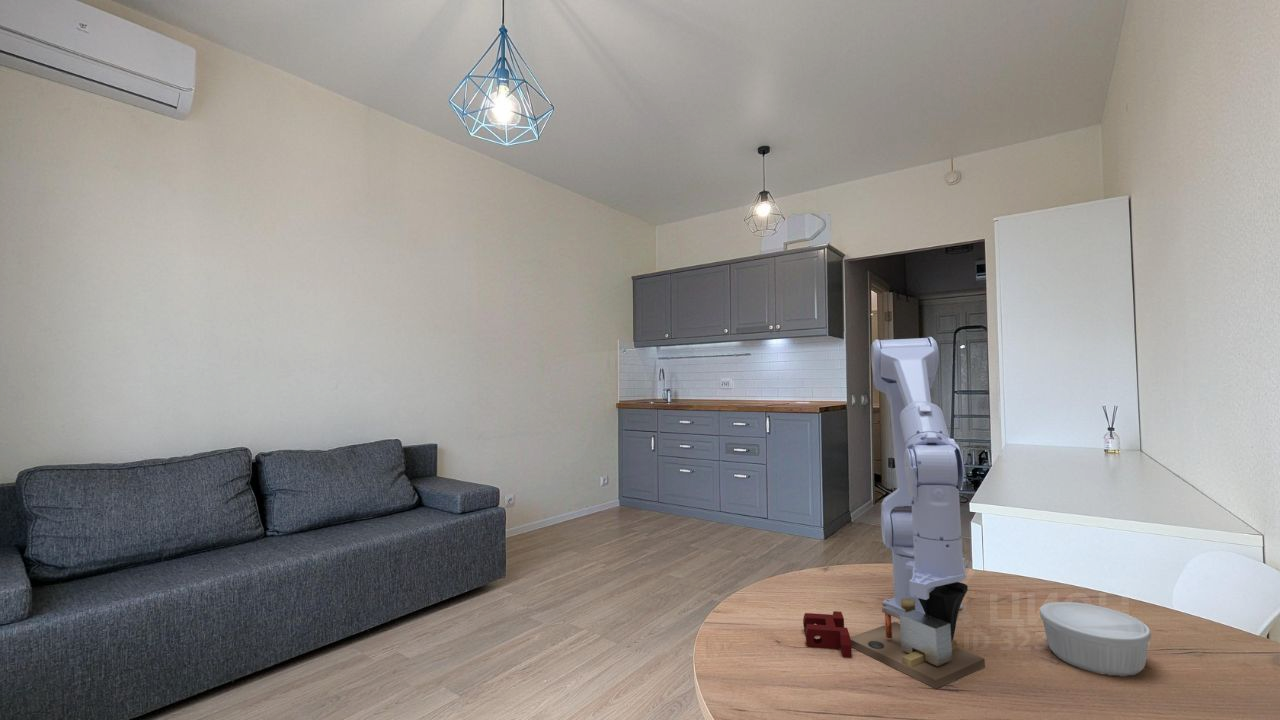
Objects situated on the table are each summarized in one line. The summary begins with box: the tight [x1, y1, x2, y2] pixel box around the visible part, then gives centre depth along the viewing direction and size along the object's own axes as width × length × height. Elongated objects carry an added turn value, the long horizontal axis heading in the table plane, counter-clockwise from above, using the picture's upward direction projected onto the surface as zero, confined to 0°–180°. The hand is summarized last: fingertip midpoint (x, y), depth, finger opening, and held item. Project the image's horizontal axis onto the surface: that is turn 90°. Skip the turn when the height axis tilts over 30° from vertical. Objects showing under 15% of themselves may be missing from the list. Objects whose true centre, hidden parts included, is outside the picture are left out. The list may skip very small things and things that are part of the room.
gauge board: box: [850, 598, 986, 690], centre depth 73 cm, size 13×10×6 cm
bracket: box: [802, 610, 853, 659], centre depth 78 cm, size 3×6×10 cm
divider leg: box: [881, 605, 952, 666], centre depth 72 cm, size 8×3×4 cm, turn 28°
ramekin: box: [1039, 601, 1152, 677], centre depth 71 cm, size 11×11×5 cm
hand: (942, 639), depth 72 cm, fingers closed
